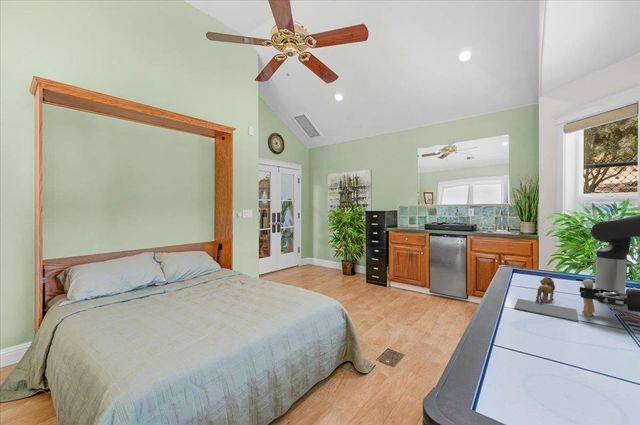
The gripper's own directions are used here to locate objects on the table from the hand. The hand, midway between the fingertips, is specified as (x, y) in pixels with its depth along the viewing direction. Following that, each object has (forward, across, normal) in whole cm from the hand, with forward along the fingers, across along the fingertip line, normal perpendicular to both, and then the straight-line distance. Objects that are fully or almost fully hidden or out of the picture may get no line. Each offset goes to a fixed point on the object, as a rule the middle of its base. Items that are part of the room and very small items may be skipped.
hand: (580, 291), depth 104 cm
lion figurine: (+10, -9, +8) cm, 16 cm away
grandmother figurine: (-2, 0, +8) cm, 8 cm away
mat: (+10, +6, +8) cm, 14 cm away
